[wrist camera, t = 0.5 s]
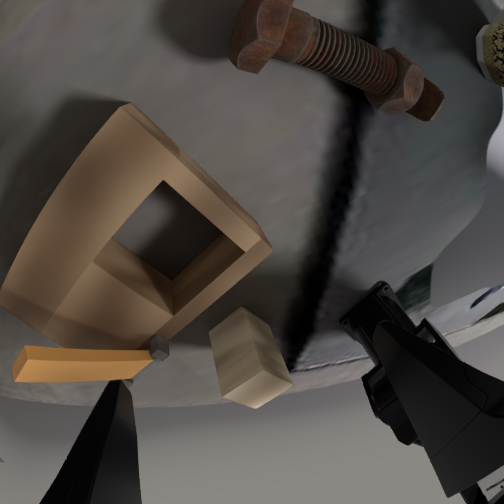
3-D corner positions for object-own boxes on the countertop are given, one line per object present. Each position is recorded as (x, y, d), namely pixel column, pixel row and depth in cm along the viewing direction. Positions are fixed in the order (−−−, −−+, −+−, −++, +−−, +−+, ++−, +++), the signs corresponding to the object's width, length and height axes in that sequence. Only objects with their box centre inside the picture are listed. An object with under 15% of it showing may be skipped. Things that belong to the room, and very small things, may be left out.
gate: (157, 347, 20) (164, 361, 20) (135, 366, 21) (141, 379, 20) (24, 341, 11) (28, 363, 11) (10, 365, 12) (15, 385, 11)
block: (257, 222, 22) (281, 263, 17) (125, 343, 25) (122, 392, 20) (131, 102, 15) (114, 108, 11) (14, 270, 18) (-11, 314, 14)
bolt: (397, 105, 21) (226, 41, 16) (429, 64, 17) (253, -24, 12) (430, 151, 18) (232, 79, 13) (471, 106, 14) (270, -9, 9)
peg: (269, 325, 28) (293, 384, 22) (238, 348, 28) (255, 408, 23) (241, 305, 26) (263, 370, 20) (208, 332, 26) (222, 396, 20)
